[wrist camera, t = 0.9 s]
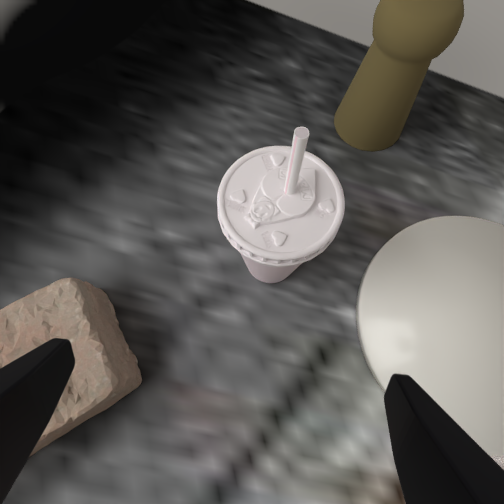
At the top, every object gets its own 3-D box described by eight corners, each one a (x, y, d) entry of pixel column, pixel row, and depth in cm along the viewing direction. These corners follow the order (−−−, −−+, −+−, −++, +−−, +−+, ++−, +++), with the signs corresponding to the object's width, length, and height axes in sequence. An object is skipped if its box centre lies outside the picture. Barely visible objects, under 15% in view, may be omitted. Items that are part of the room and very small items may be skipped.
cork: (350, 159, 28) (407, 38, 18) (323, 106, 30) (360, -32, 20) (414, 140, 29) (504, 13, 19) (383, 89, 31) (449, -52, 21)
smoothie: (329, 263, 25) (415, 147, 12) (267, 319, 24) (287, 258, 11) (272, 206, 27) (293, 49, 14) (211, 256, 26) (167, 134, 12)
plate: (637, 372, 23) (657, 372, 22) (454, 506, 20) (466, 514, 19) (478, 190, 27) (488, 182, 26) (313, 281, 25) (316, 276, 24)
